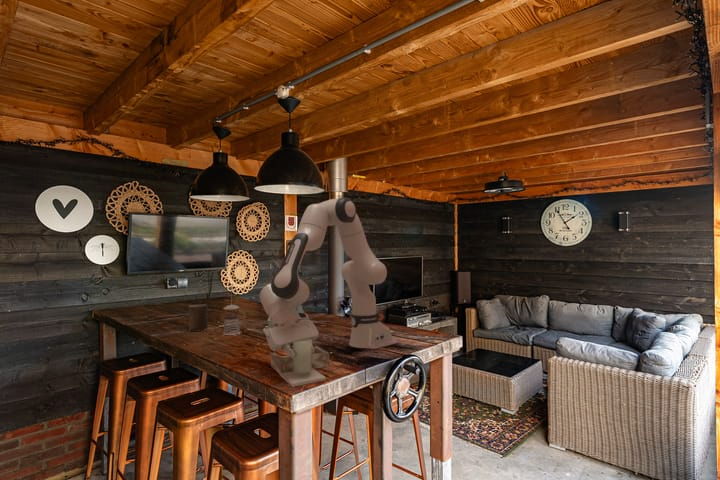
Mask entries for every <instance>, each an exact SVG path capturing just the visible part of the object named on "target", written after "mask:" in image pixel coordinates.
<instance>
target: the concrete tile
mask: <svg viewBox="0 0 720 480" xmlns="http://www.w3.org/2000/svg"><path fill="white" fill-rule="evenodd" d="M280 378H282V379H283V380H284V381H285V382H286V383H287V384H289V385H290V386H291V387H292V388H294V387H298V386H304V385H307V384H308V385H309V384H312V383H318V381H319V382H323V380H324V381H326V376H325V375H323V374H322V373H320V372H319V371H318V370H316V369H313V368H312V370H311V371H309V372H306V373H296V372H294V371H291V372H286V373H281V375H280Z"/></svg>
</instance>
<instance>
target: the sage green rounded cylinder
mask: <svg viewBox="0 0 720 480" xmlns="http://www.w3.org/2000/svg"><path fill="white" fill-rule="evenodd" d="M292 350H293V351H294V350H295V351H296V353H297V356H296V357H294V358H293V371H294V372H296V373H306V372H309V371H311V370H312V356H311V340H309V339H303V340H299V341H295V342H293V346H292Z"/></svg>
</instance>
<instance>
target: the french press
mask: <svg viewBox="0 0 720 480" xmlns="http://www.w3.org/2000/svg"><path fill="white" fill-rule="evenodd" d="M229 289H230V291H231V293H230V295H231V296H230V298H231V301H230V302H231V304H230V305H227V306H225V307H223V310H224V311H231V313H230V314H225V315H224V317H225V318H224V319H223V333H222V334H224V335H234V336H236V335H235V334H239V335H241V334H242V332H241V331H240V330H241V324H243V323H244V322H245V318H246V315H245V314H246V313H245V312H244V311H243V310H242V309H240V306H238V305H236V304H233V299H232V297H233V292H232V290H233V289H234V287H233V286H229ZM233 310H238V313H237V314H234V313H233ZM240 312H242V313H243V317H244V318H243V320H242V321H240V317H239V313H240ZM240 333H241V334H240ZM224 335H223V336H224Z"/></svg>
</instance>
